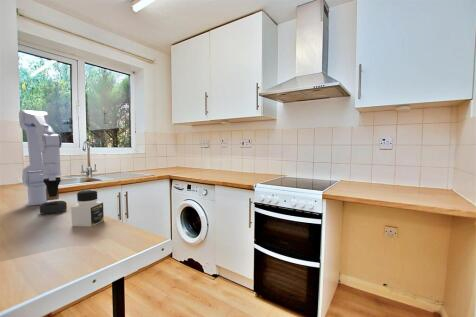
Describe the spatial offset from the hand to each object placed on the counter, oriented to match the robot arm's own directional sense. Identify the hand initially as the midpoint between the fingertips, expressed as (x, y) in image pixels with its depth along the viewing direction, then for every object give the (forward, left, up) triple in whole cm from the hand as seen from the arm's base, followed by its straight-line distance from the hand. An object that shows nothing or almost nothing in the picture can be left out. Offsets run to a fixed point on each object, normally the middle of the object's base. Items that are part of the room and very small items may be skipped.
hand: (53, 195), depth 97 cm
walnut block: (0, 0, -2) cm, 2 cm away
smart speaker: (0, 0, -7) cm, 7 cm away
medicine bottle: (+26, +10, -7) cm, 29 cm away
